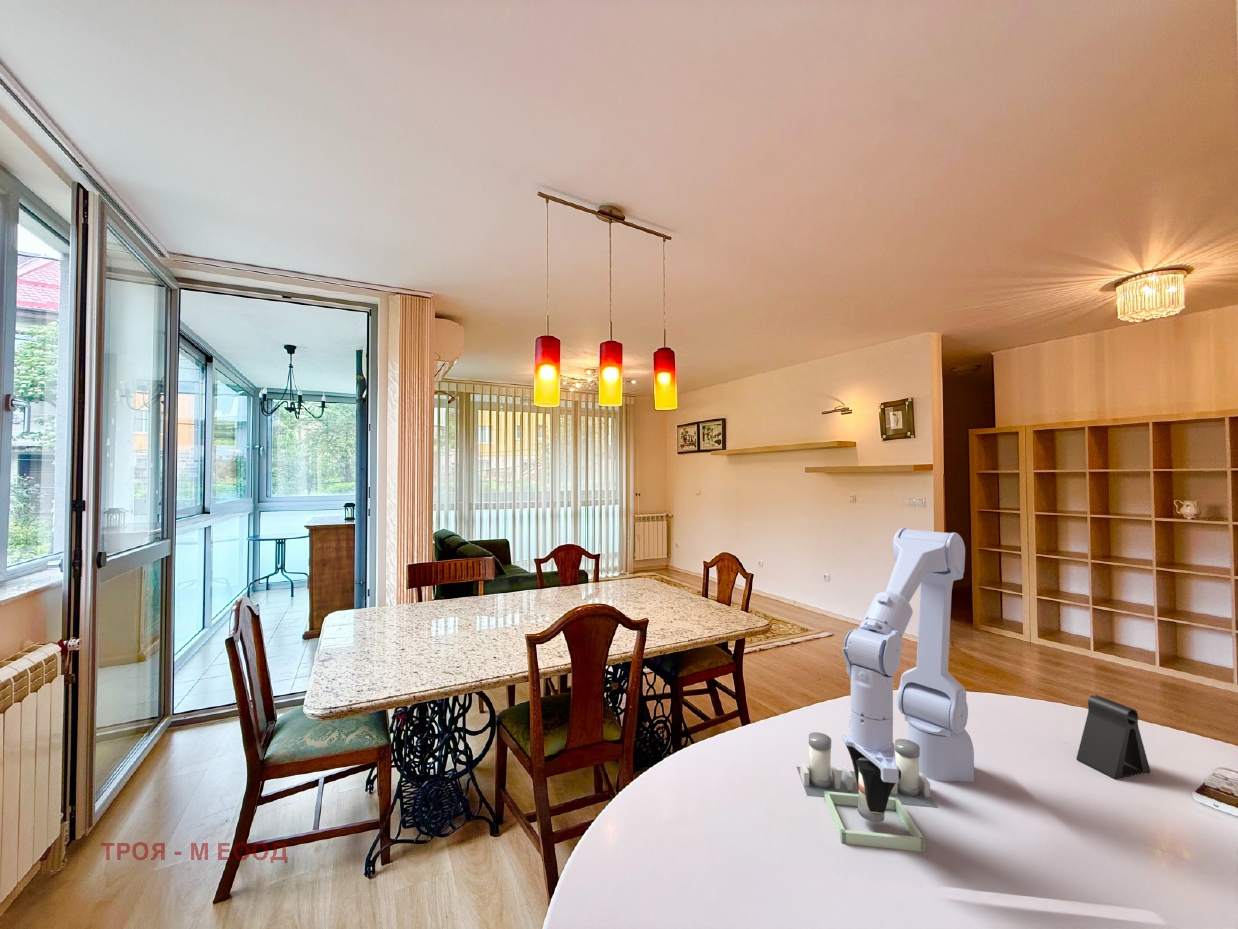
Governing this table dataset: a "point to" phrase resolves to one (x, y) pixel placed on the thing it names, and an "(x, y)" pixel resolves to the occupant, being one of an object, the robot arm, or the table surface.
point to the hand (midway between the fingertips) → (871, 801)
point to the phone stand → (1112, 740)
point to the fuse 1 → (820, 760)
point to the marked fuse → (862, 801)
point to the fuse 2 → (908, 767)
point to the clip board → (847, 784)
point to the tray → (870, 838)
